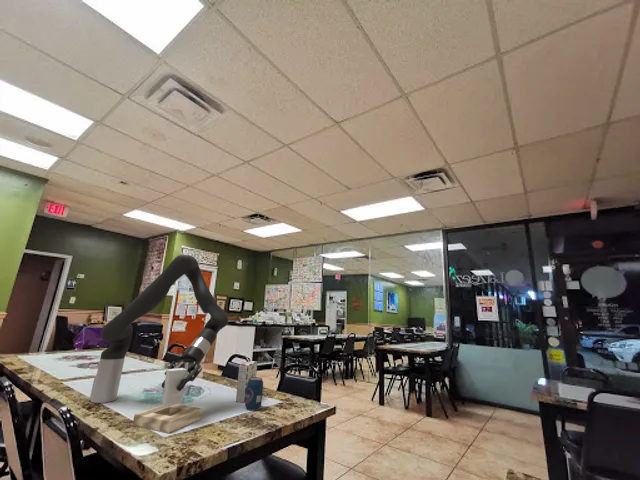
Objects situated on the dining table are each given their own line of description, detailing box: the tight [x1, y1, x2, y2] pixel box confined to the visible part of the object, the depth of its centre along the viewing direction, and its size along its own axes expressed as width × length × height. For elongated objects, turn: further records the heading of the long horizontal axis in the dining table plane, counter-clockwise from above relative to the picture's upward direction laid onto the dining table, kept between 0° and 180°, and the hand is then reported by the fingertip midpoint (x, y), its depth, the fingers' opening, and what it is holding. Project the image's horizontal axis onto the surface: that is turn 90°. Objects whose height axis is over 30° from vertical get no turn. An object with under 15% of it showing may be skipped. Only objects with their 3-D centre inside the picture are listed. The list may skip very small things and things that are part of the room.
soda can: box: [244, 376, 264, 411], centre depth 129 cm, size 7×7×12 cm
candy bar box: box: [235, 360, 258, 404], centre depth 142 cm, size 11×5×16 cm, turn 168°
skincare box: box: [161, 368, 186, 406], centre depth 111 cm, size 6×4×12 cm
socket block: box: [131, 404, 203, 434], centre depth 108 cm, size 16×16×4 cm
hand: (170, 388), depth 109 cm, fingers closed on skincare box, 6 cm apart
